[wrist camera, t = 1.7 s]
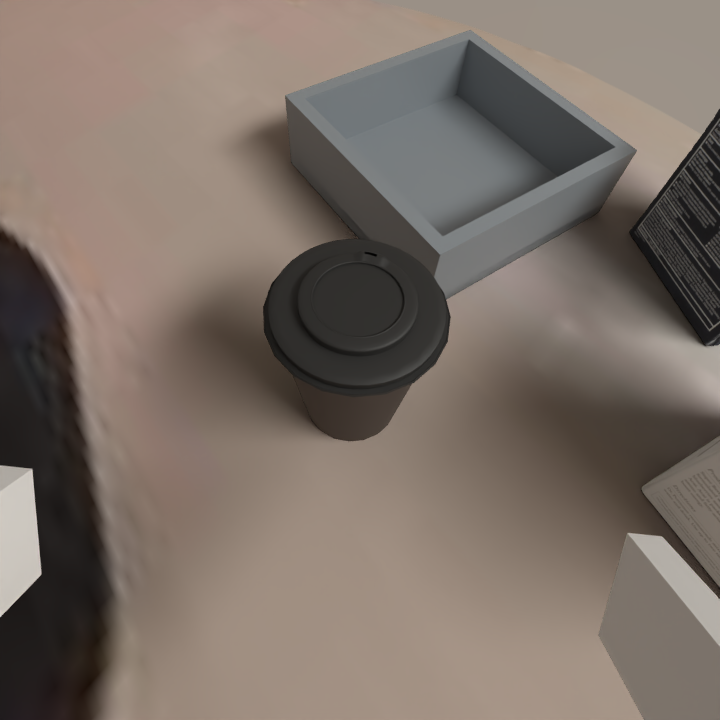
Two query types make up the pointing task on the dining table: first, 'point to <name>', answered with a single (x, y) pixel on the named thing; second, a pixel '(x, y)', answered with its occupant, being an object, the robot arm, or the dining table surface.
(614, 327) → the dining table surface
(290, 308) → the coffee cup
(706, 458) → the supplement box
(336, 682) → the dining table surface
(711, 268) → the small box
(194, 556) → the dining table surface
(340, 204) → the bin
